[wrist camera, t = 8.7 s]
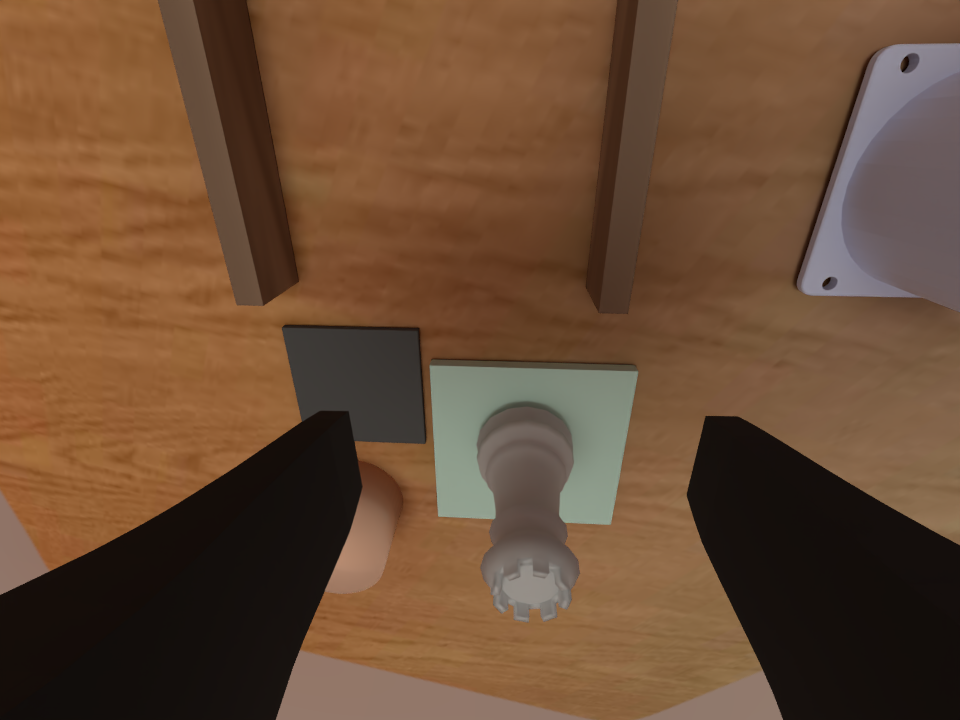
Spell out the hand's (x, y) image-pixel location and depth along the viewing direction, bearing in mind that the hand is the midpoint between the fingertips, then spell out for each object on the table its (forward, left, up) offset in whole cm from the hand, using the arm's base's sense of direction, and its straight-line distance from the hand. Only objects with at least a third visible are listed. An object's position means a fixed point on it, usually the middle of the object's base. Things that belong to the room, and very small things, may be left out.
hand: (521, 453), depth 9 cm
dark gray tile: (+7, +5, -10) cm, 13 cm away
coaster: (-1, +8, -10) cm, 13 cm away
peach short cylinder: (+8, +12, -10) cm, 18 cm away
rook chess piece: (-1, +7, -10) cm, 12 cm away
